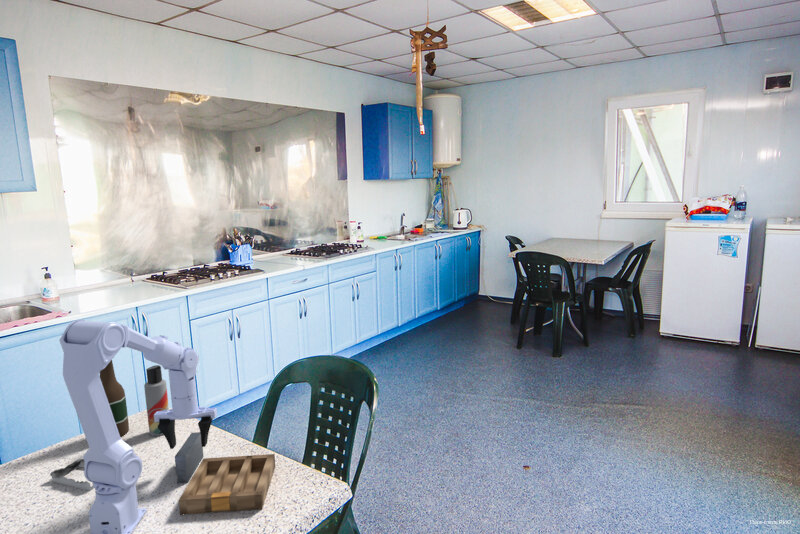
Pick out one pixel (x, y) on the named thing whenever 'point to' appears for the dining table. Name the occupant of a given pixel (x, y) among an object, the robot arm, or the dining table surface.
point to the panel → (188, 458)
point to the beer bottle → (115, 398)
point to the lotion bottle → (155, 397)
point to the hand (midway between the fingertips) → (189, 445)
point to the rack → (228, 484)
